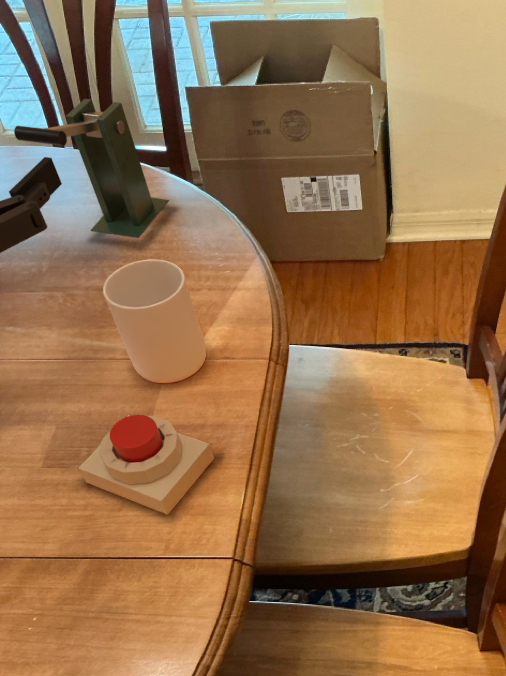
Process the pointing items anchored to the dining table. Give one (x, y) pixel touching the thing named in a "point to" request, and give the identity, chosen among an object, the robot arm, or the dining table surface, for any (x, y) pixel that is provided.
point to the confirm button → (136, 438)
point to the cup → (156, 320)
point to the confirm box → (150, 469)
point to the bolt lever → (60, 131)
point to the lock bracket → (115, 173)
